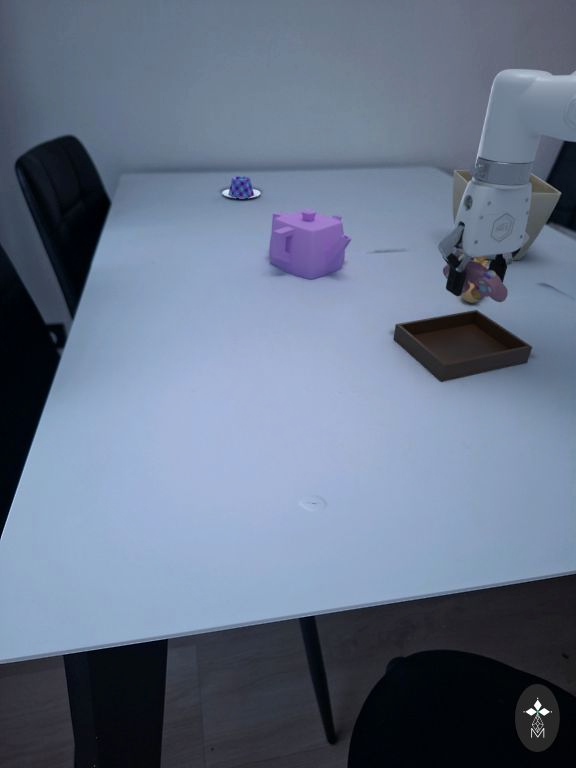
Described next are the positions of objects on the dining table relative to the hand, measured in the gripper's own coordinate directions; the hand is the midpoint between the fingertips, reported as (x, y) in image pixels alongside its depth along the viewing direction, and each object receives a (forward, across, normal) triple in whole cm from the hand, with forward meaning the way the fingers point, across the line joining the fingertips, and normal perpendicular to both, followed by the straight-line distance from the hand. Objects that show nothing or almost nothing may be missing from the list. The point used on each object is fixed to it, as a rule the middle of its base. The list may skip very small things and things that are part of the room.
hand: (473, 288), depth 84 cm
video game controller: (+1, 0, 0) cm, 1 cm away
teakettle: (+12, -9, +43) cm, 45 cm away
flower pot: (+12, +37, +38) cm, 54 cm away
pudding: (+12, -6, +103) cm, 104 cm away
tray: (+11, 0, 0) cm, 11 cm away
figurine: (+12, +15, +16) cm, 25 cm away
